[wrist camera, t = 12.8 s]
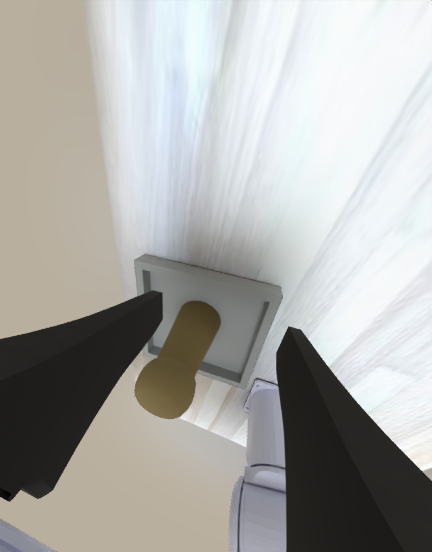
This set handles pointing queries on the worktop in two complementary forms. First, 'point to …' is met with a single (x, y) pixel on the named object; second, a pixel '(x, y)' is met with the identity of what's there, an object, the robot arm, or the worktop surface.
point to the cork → (178, 362)
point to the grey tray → (225, 300)
